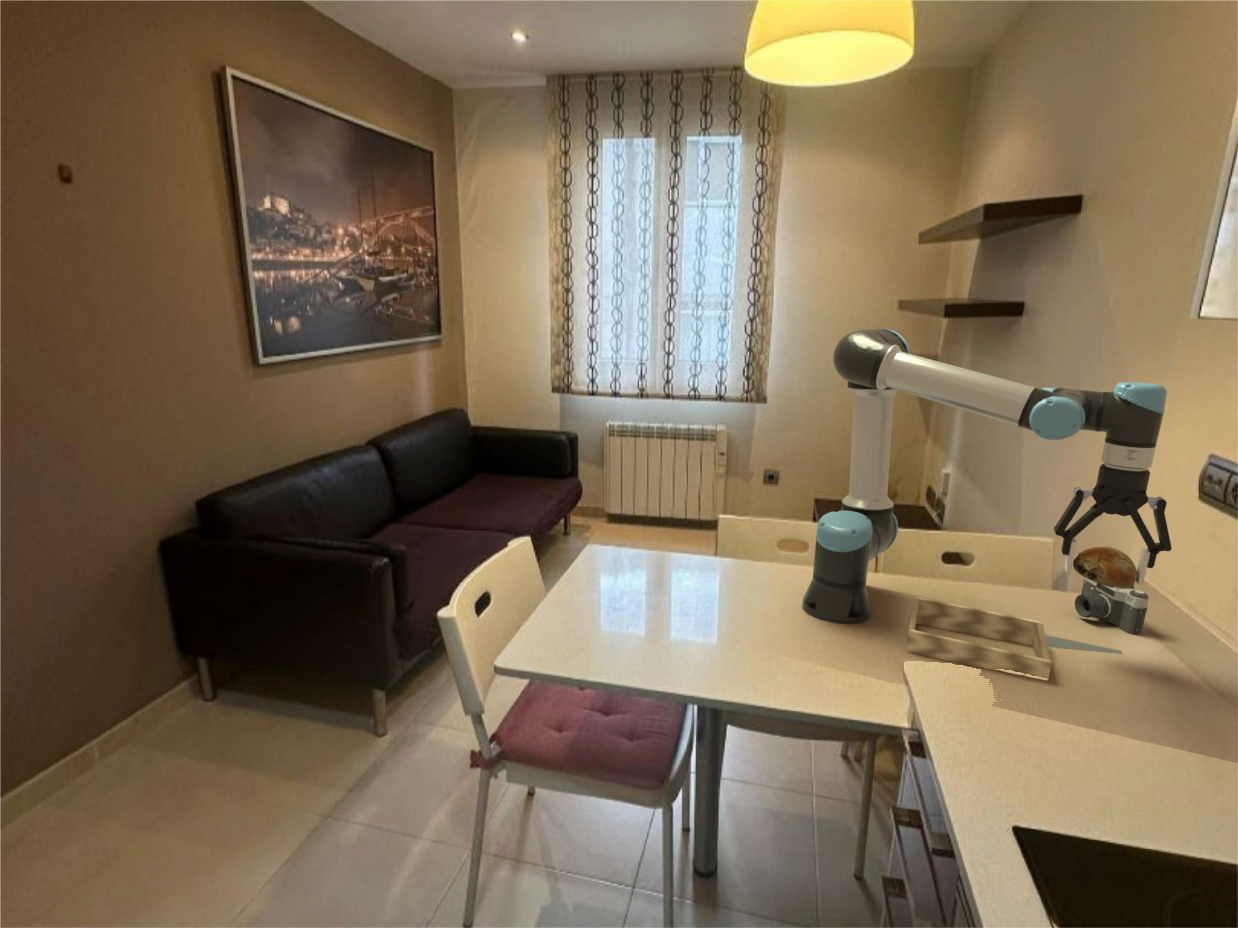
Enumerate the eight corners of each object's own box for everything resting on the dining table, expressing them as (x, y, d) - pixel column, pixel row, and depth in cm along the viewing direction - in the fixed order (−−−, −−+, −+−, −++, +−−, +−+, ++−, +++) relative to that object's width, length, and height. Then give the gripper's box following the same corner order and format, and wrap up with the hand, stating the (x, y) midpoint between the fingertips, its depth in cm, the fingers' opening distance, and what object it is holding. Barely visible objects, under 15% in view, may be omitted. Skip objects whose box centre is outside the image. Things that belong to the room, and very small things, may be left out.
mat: (1046, 667, 126) (1047, 664, 126) (1040, 636, 138) (1040, 634, 138) (1135, 687, 120) (1136, 684, 119) (1120, 653, 132) (1120, 650, 131)
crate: (904, 657, 129) (908, 630, 127) (911, 620, 144) (915, 596, 143) (1046, 692, 118) (1051, 662, 116) (1037, 647, 133) (1042, 621, 132)
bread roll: (1124, 609, 121) (1160, 580, 118) (1081, 577, 121) (1116, 547, 118) (1099, 585, 130) (1132, 558, 127) (1058, 555, 130) (1090, 527, 127)
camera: (1053, 602, 154) (1060, 564, 152) (1094, 602, 155) (1102, 564, 152) (1102, 635, 139) (1111, 592, 137) (1147, 635, 139) (1157, 592, 137)
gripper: (1053, 462, 121) (1034, 571, 126) (1212, 479, 111) (1184, 596, 116) (1049, 455, 128) (1031, 558, 133) (1199, 469, 117) (1172, 581, 122)
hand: (1102, 576), depth 124 cm, fingers closed on bread roll, 11 cm apart
